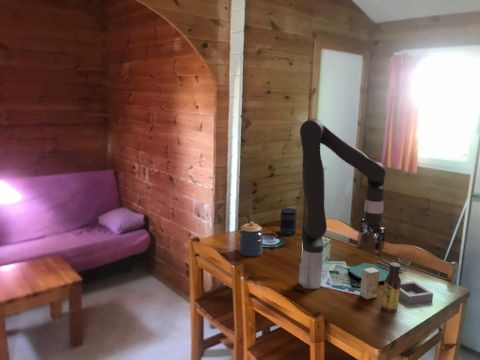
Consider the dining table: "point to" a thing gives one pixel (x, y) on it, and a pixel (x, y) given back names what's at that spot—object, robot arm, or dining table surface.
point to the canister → (250, 240)
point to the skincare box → (369, 283)
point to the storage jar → (288, 222)
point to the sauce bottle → (391, 288)
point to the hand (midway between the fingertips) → (371, 246)
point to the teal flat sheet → (358, 269)
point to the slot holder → (414, 293)
